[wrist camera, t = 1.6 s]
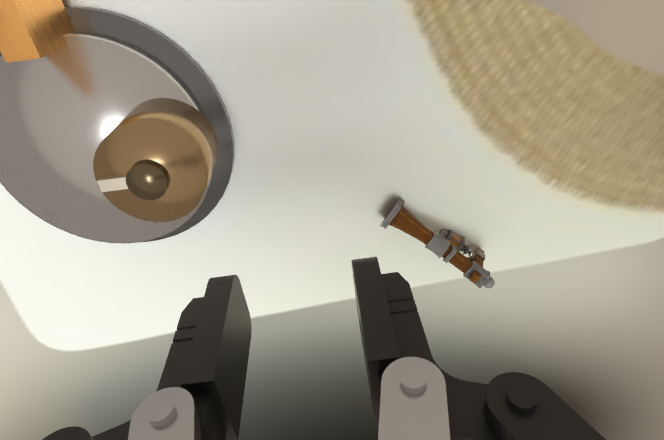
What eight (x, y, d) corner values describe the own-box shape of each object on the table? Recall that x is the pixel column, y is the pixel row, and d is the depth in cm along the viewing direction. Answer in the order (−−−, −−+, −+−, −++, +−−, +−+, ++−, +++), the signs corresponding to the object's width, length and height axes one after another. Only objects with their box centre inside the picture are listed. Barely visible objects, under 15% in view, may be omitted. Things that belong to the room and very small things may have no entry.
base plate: (196, -12, 22) (194, -11, 21) (255, 224, 29) (255, 227, 29) (-83, 27, 22) (-89, 28, 21) (48, 251, 29) (45, 255, 29)
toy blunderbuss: (483, 270, 32) (484, 301, 28) (391, 206, 32) (379, 227, 28) (500, 252, 31) (503, 281, 27) (405, 186, 31) (395, 205, 27)
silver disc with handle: (236, 219, 28) (227, 255, 25) (51, 243, 28) (19, 282, 25) (151, -83, 19) (122, -87, 16) (-115, -46, 20) (-196, -43, 16)
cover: (204, 91, 23) (184, 123, 19) (228, 178, 25) (215, 221, 21) (107, 104, 23) (67, 139, 19) (142, 189, 25) (113, 235, 21)
